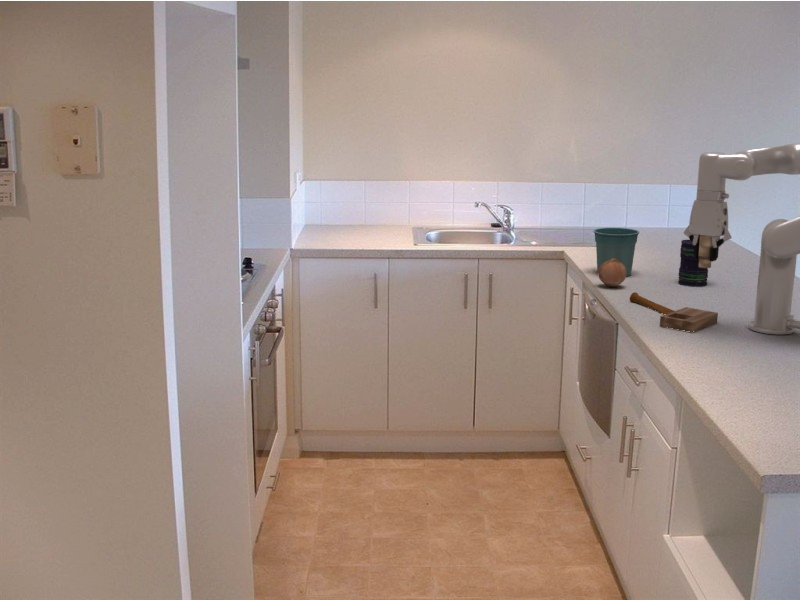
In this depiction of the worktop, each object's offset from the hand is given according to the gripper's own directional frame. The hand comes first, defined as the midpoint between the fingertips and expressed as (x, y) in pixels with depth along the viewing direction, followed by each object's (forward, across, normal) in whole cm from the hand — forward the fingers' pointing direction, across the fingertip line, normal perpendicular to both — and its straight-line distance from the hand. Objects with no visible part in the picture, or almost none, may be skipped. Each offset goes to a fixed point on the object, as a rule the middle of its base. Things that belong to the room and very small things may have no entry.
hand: (705, 259), depth 273 cm
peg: (+2, 0, 0) cm, 2 cm away
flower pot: (+19, +56, -46) cm, 74 cm away
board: (+19, +2, +4) cm, 20 cm away
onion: (+19, +45, -25) cm, 55 cm away
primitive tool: (+20, +19, -8) cm, 29 cm away
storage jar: (+19, +27, -50) cm, 60 cm away
